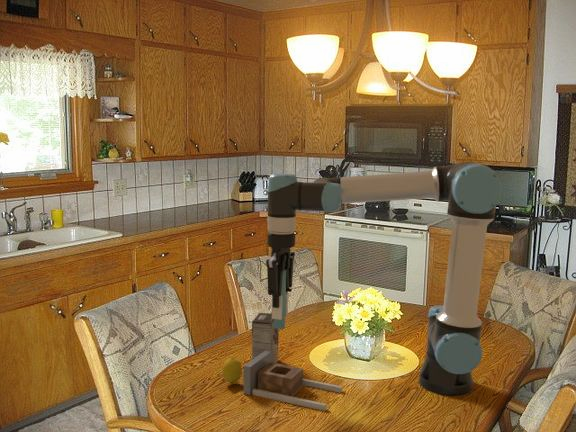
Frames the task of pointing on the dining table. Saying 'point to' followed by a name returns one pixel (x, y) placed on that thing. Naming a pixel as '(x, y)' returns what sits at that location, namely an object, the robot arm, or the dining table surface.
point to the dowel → (281, 323)
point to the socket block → (280, 379)
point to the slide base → (252, 387)
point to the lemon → (232, 370)
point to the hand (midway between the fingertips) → (279, 316)
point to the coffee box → (264, 335)
